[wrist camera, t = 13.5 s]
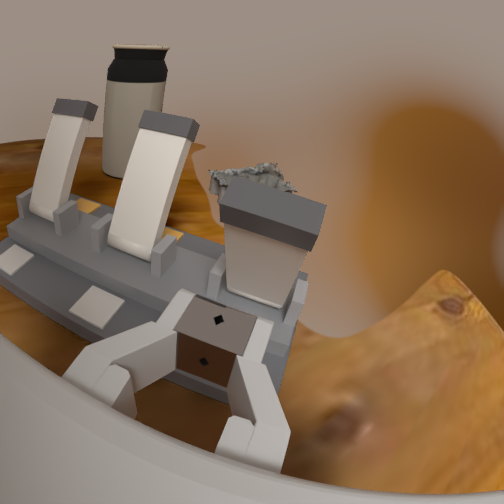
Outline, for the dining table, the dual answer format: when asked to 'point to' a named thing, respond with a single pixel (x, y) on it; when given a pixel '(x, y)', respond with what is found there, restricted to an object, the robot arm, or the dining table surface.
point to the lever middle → (150, 182)
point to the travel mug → (130, 100)
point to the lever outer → (266, 239)
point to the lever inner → (60, 155)
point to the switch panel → (127, 281)
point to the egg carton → (249, 178)
